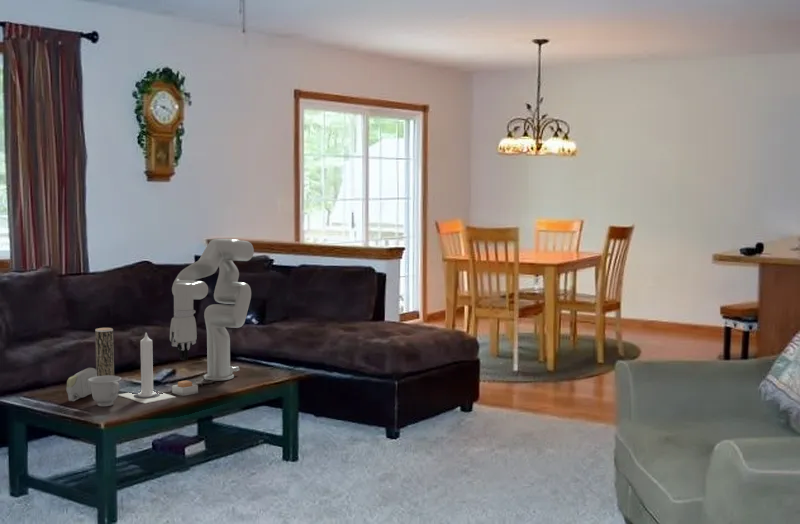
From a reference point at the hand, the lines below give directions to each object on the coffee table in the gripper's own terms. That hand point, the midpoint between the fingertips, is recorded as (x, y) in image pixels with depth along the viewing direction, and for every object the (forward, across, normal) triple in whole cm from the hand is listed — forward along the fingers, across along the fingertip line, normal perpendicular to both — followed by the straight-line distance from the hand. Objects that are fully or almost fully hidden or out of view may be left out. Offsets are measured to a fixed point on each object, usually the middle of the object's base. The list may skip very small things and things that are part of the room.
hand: (183, 359), depth 388 cm
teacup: (+14, +31, -4) cm, 35 cm away
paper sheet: (+14, +13, -6) cm, 20 cm away
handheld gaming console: (+14, +31, -23) cm, 41 cm away
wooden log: (+14, +19, -26) cm, 35 cm away
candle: (+13, +13, -6) cm, 20 cm away
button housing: (+13, -1, 0) cm, 14 cm away
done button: (+11, -1, 0) cm, 11 cm away
